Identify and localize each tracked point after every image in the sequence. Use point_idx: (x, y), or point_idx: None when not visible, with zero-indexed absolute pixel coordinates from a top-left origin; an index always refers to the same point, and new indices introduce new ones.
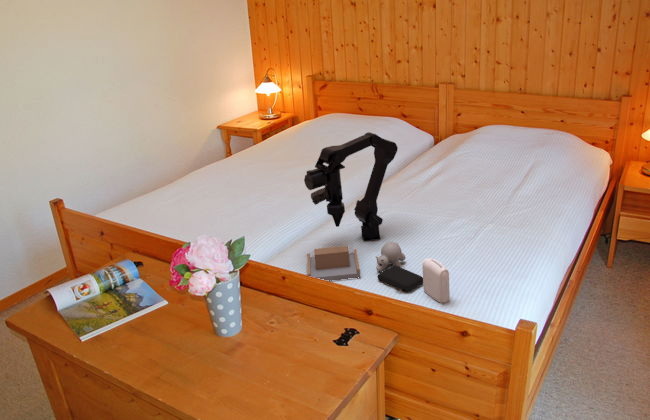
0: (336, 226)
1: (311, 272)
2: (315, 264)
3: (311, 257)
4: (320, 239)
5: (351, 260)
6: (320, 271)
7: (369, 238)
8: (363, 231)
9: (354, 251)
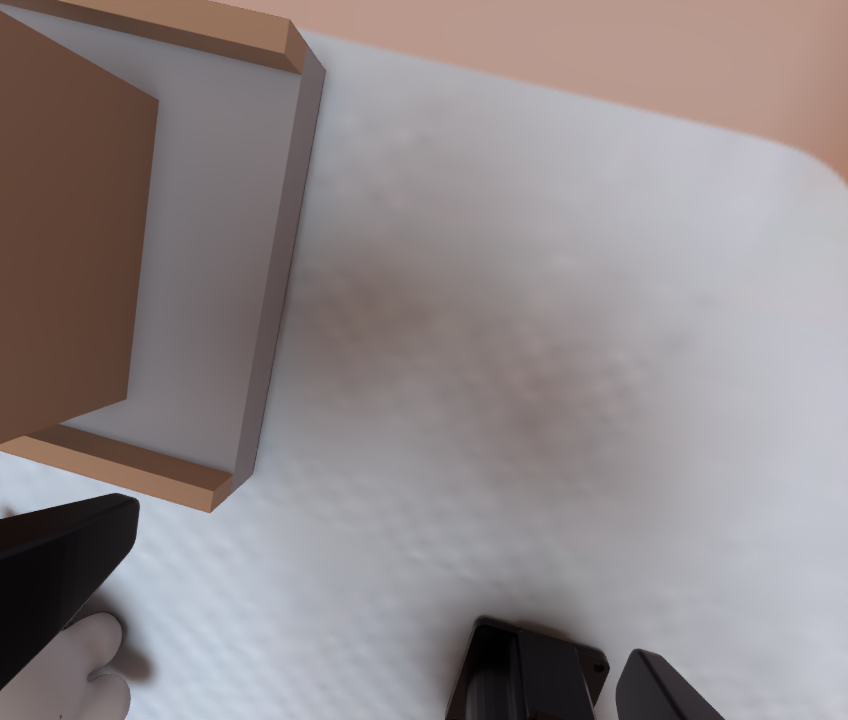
0: (112, 501)
1: (14, 14)
2: (147, 91)
3: (295, 85)
4: (726, 306)
5: (118, 413)
6: None
7: (476, 666)
8: (516, 693)
9: (174, 484)
